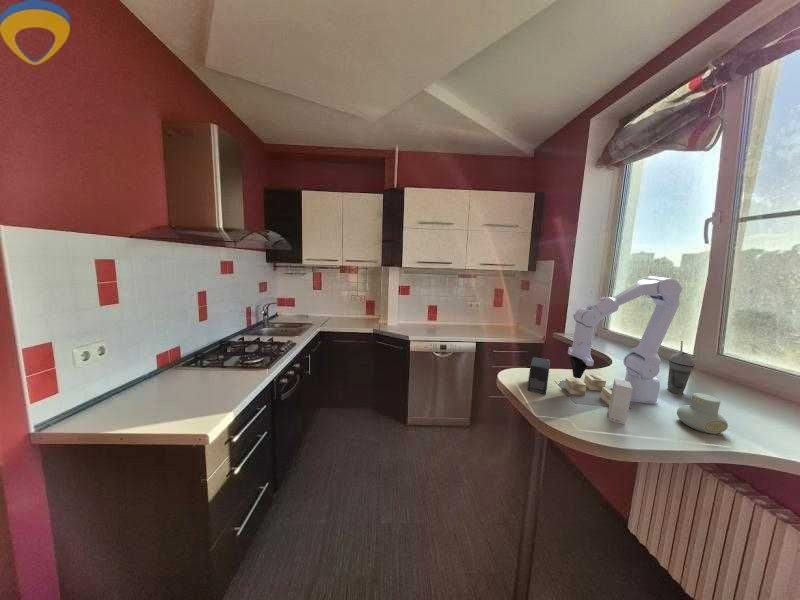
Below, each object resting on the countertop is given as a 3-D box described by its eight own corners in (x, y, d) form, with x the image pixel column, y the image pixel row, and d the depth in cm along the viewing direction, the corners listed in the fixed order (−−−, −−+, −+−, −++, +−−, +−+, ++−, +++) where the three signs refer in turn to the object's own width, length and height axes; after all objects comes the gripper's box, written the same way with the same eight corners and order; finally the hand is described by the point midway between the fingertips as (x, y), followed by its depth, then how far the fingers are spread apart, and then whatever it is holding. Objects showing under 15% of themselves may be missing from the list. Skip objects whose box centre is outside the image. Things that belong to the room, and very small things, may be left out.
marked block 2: (615, 398, 106) (617, 387, 105) (624, 406, 101) (626, 394, 100) (600, 397, 106) (602, 386, 105) (608, 404, 101) (610, 393, 100)
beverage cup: (686, 397, 111) (698, 346, 107) (661, 389, 116) (671, 340, 113) (689, 392, 116) (700, 342, 112) (664, 385, 121) (674, 337, 117)
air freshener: (702, 420, 95) (709, 391, 93) (731, 436, 87) (739, 405, 85) (669, 419, 95) (675, 390, 93) (695, 435, 86) (702, 403, 85)
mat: (600, 384, 118) (600, 383, 118) (631, 410, 99) (631, 408, 99) (552, 380, 120) (552, 379, 119) (574, 404, 101) (574, 403, 101)
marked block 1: (597, 385, 116) (598, 375, 116) (604, 391, 111) (606, 380, 111) (583, 383, 117) (585, 373, 116) (590, 389, 112) (592, 379, 111)
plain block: (578, 389, 112) (579, 379, 111) (584, 395, 107) (586, 385, 106) (564, 387, 112) (565, 377, 112) (570, 393, 108) (571, 383, 107)
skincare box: (625, 425, 89) (633, 388, 87) (608, 421, 92) (615, 384, 90) (623, 416, 95) (630, 381, 92) (607, 412, 97) (613, 377, 95)
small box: (529, 381, 118) (532, 356, 116) (547, 385, 115) (551, 359, 113) (526, 391, 109) (529, 364, 107) (546, 396, 106) (550, 368, 104)
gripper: (562, 335, 114) (557, 368, 116) (580, 347, 100) (574, 385, 102) (581, 336, 113) (576, 370, 116) (602, 348, 99) (596, 387, 101)
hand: (576, 377), depth 109 cm, fingers closed
